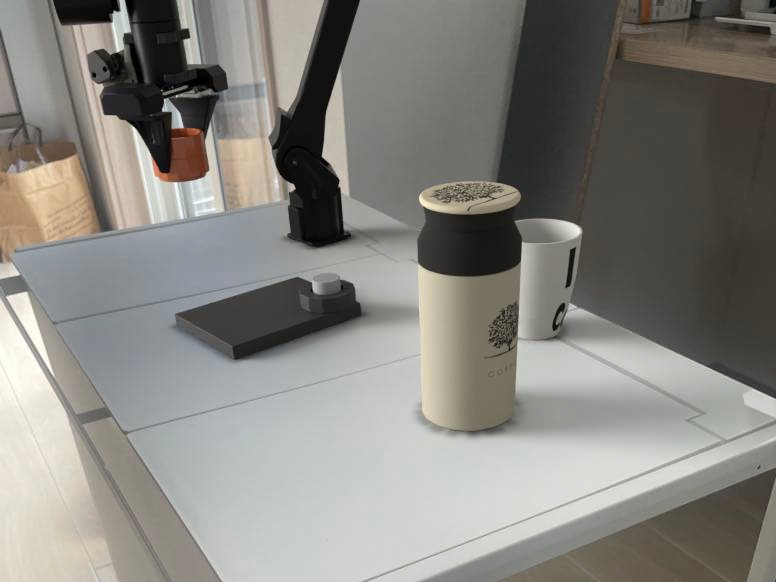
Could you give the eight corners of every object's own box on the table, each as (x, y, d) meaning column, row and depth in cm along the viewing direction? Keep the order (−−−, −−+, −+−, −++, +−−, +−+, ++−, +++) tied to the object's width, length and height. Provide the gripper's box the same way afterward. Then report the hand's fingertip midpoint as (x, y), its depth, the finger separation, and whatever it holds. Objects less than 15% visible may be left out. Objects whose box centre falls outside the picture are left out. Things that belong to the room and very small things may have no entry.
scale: (302, 287, 99) (299, 261, 97) (367, 315, 91) (365, 288, 89) (176, 326, 91) (171, 299, 89) (236, 361, 83) (231, 332, 81)
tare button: (330, 284, 91) (328, 270, 91) (346, 291, 90) (345, 277, 89) (307, 292, 90) (306, 277, 89) (324, 299, 88) (322, 284, 87)
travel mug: (403, 408, 73) (394, 193, 63) (474, 382, 77) (476, 174, 66) (461, 444, 68) (461, 215, 57) (533, 414, 72) (546, 193, 61)
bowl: (194, 167, 110) (186, 125, 107) (219, 175, 106) (212, 132, 103) (146, 177, 107) (137, 134, 104) (170, 186, 102) (162, 141, 99)
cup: (572, 348, 82) (581, 245, 76) (489, 344, 84) (492, 242, 78) (575, 316, 88) (583, 219, 82) (498, 313, 90) (501, 217, 84)
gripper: (142, 12, 105) (168, 147, 115) (43, 30, 91) (81, 181, 101) (219, 12, 102) (239, 150, 111) (128, 30, 88) (160, 186, 97)
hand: (181, 165), depth 105 cm, fingers closed on bowl, 7 cm apart
